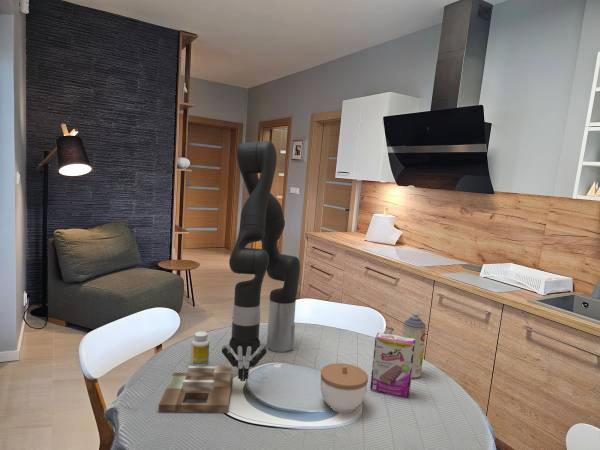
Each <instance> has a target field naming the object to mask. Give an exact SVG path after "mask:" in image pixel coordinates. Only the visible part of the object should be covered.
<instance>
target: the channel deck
mask: <svg viewBox="0 0 600 450" xmlns="http://www.w3.org/2000/svg"><path fill="white" fill-rule="evenodd" d="M215 366H216V365H215ZM215 366H212V365H210V366H208V365H204V366H195V365H189V366H188V368H187V369H188V371H187V372H172V375H171V377H170V379H169V381H168V384H167V385H166V388H165V390H164V393H163V394H162V397H161V399H160V401H159V403H158V413H191V414H192V413H195V414H196V413H197V414H199V413H200V414H201V413H205V414H206V413H208V414H211V413H213V414H216V413H217V414H218V413H219V414H220V413H221V414H228V413H229V408H230V400H231V394H232V386H233V376H234V375H233V373H231V383H230V387H214V370H215Z"/></svg>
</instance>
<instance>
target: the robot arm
mask: <svg viewBox="0 0 600 450" xmlns="http://www.w3.org/2000/svg"><path fill="white" fill-rule="evenodd" d="M277 156H278V154H277V149H276V147H275V145H274V143H273V142H272V141H270V140H261V141H251V142H250V141H248V142H242V143H239V144H238V145H237V148H236V161H237V165H238V168H239V171H240V174H241V177H242V180H243V182H244V185H245V189H246V190H247V193H248V194H247V195H248V197H247V199H246V201H245V202H244V204H243V206H242V209H241V213H240V221H239V230H238V235H237V238H236V241H235V245H234V247H233V249H232V251H231V253H230V257H229V261H228V265H229V268H230V270H231V271H232V272H233V273H234V274H239V275H240V274H243V275H254V277H253V278H251V279H249V280H242V281H239V282H237V283H236V284H235V286H234V299H233V300H234V302H233V309H232V316H231V320H232V321H231V322H232V323H231V338H230V339H229V342H228V343H227V344H226V345H223V346H222V348H221V353H222V355H223V356H224V357H225V358H226V359H227V361H228V362H229V363H230V366H232V367H237V368H238V369H237V370H238V372H237V379H238V380H240V382H246V381H247V380H248V379H249V371H250V368H253V367H256V366H257V364H258V363H259V362H260V361H261V360H262V359H263V358H264V356H266V354H267V353H268V350H270V351H272V352H278V353H283V352H284V353H285V352H289V351H294V345H295V344H294V343H295V341H294V340H295V329H296V328H295V327H296V323H295V319H296V317H295V316H296V301H297V294H298V289H299V281H300V271H301V263H300V260H299V258H298V257H297V256H295V255H287V254H282V253H280V252H279V248H278V247H279V246H278V242H279V239H280V238H281V236H282V234H283V231H284V230H285V225H286V221H285V215H284V211H283V207H282V204H281V203H280V201H279V200H278V199H277V198H276V197H275V196H274V194H272V193H271V191H272V186H273V183H274V182H273V181H274V179H275V178H274V177H275V174H276V169H277V168H276V167H277V159H278V158H277ZM258 174H260V177H259V176H258ZM257 242H261V247H262V248H251V247H250V248H249V247H246V246H248V244H251V243H257ZM266 273H267V276H268V277H269V278H270V279H272V280H275V281H279V282H284V283H283V287H280V288H275V289H273V290H271V291H270V294H269V301H268V302H269V305H268V322H267V323H268V324H267V334H266V337H267V339H266V346H263V345H262V344H261V340H260V325H261V324H260V322H261V293H262V292H261V291H262V287H263V286H262V285H263V282H264V278H265V274H266ZM267 349H268V350H267ZM232 351H233V352H234V354H235V355H236V356H237V358H236V357H235V355H234V354H233V352H232ZM255 352H257V353H256V354H255ZM254 354H255V355H254ZM253 355H254V356H253ZM251 356H253V358H251ZM244 357H245V358H244Z"/></svg>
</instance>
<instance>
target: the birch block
mask: <svg viewBox="0 0 600 450" xmlns="http://www.w3.org/2000/svg"><path fill="white" fill-rule="evenodd" d="M232 367H233V366H232V365H226V364H225V365H224V364H223V365H217V364H216V365H215V370H214V387H230V383H231V374H232V370H233V369H232Z"/></svg>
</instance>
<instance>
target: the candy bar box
mask: <svg viewBox="0 0 600 450" xmlns="http://www.w3.org/2000/svg"><path fill="white" fill-rule="evenodd" d="M402 336H403V335H402ZM402 336H401V335H396V334H391V333H386V332H379V331H377V333H376V335H375V339H374V348H373V349H374V350H373V357H372V367H371V368H372V370H371V378H370V379H371V380H370V387H369V389H370V391H373V392H379V393H383V394H386V395H391V396H395V397H400V398H403V399H409V396H410V391H411V388H412V387H411V384H412V379H411V377H412V368H413V359H414V350H415V341H416V340H415V339H412V338H407V337H402Z"/></svg>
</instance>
